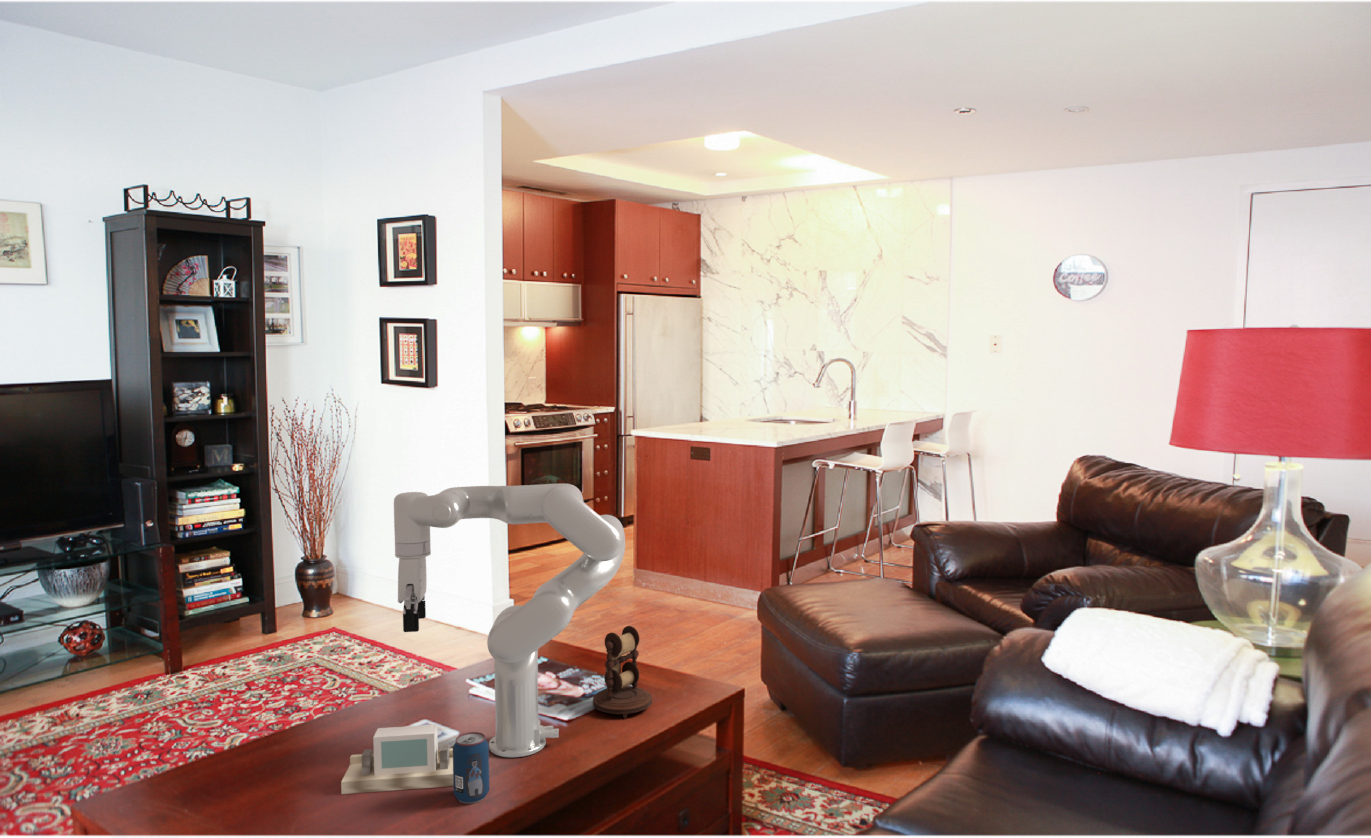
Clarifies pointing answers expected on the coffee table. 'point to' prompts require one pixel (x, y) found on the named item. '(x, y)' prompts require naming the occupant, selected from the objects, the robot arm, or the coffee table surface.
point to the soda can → (470, 767)
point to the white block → (405, 750)
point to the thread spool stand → (622, 676)
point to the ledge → (395, 775)
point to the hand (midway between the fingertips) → (414, 624)
